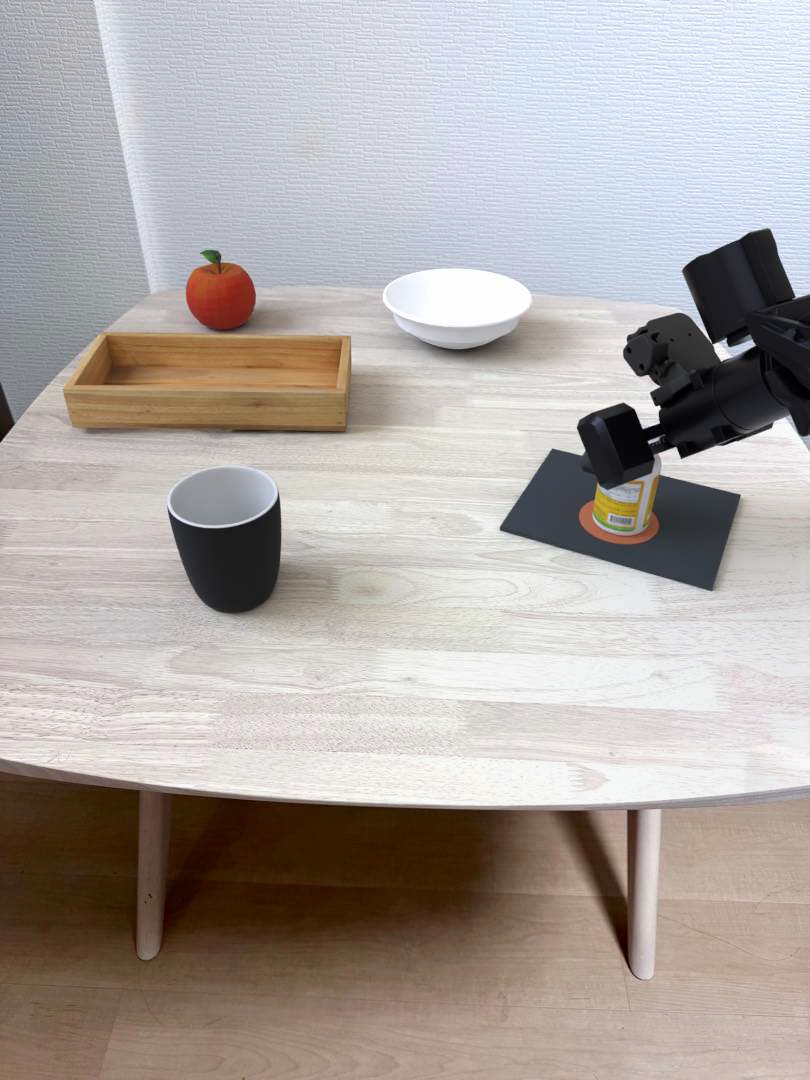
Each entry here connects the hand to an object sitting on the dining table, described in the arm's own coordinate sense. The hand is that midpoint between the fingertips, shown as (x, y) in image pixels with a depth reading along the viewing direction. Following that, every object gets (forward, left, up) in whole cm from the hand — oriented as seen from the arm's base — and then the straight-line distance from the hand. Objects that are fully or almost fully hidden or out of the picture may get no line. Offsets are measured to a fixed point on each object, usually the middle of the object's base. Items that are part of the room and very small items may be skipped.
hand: (620, 451), depth 79 cm
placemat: (-1, -1, -8) cm, 8 cm away
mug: (+28, +25, -8) cm, 38 cm away
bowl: (+30, -31, -8) cm, 44 cm away
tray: (+48, -2, -8) cm, 48 cm away
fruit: (+61, -21, -8) cm, 65 cm away
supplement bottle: (-1, +1, -7) cm, 7 cm away
